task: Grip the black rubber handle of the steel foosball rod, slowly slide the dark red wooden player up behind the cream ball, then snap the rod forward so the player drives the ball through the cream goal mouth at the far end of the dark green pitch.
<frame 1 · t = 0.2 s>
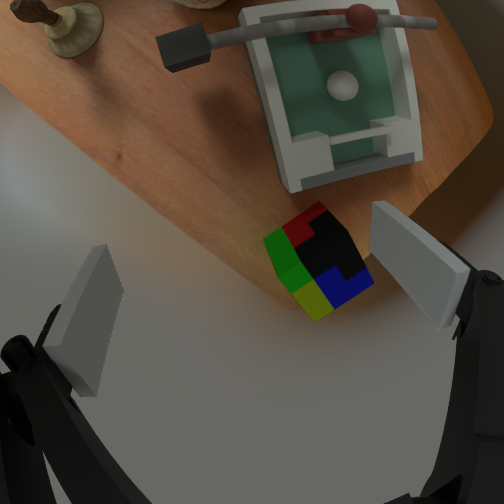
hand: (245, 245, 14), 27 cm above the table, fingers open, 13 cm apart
pitch: (331, 85, 35), on the table
puzzle toy: (306, 243, 47), on the table
striker: (312, 26, 25), point 8 cm above the table, slide at 0.0 cm
hand bell: (75, 29, 26), on the table
ball: (342, 85, 32), point 3 cm above the table, touching pitch
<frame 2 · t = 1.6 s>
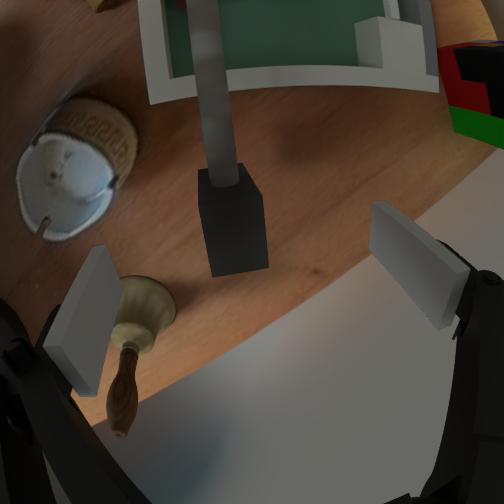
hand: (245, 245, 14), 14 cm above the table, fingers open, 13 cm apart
puzzle toy: (468, 82, 25), on the table
hand bell: (139, 305, 32), on the table
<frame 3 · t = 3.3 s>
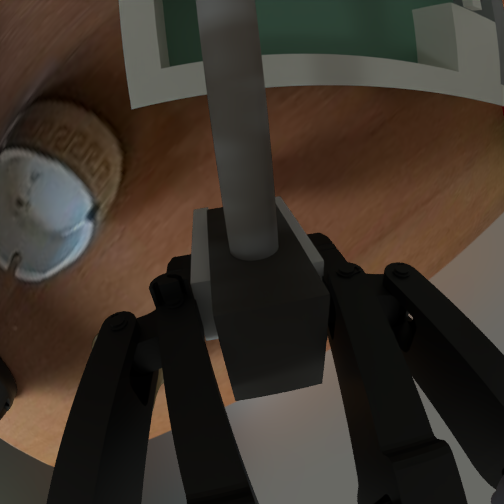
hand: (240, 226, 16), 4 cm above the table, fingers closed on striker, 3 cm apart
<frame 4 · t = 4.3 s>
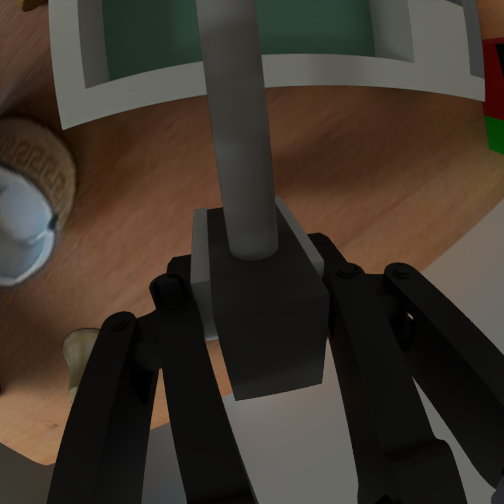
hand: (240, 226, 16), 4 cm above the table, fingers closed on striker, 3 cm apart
hand bell: (102, 357, 25), on the table
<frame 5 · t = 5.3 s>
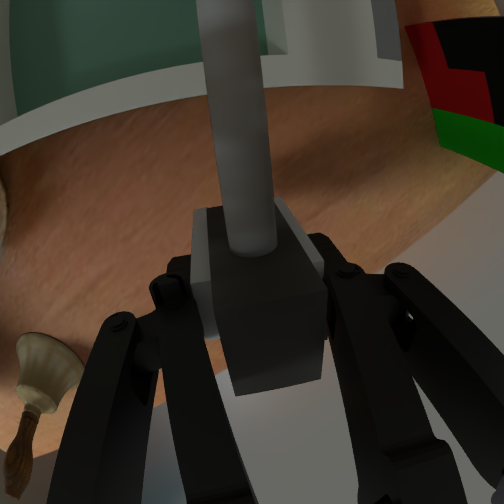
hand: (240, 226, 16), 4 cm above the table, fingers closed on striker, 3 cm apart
puzzle toy: (462, 74, 17), on the table
hand bell: (50, 359, 25), on the table
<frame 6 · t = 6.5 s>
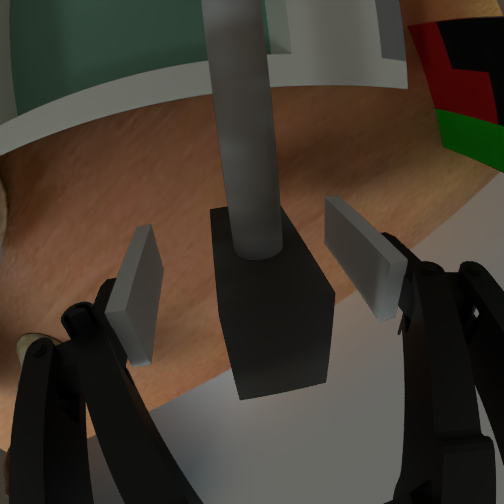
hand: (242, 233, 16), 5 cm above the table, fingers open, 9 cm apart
puzzle toy: (465, 75, 17), on the table
hand bell: (51, 360, 25), on the table
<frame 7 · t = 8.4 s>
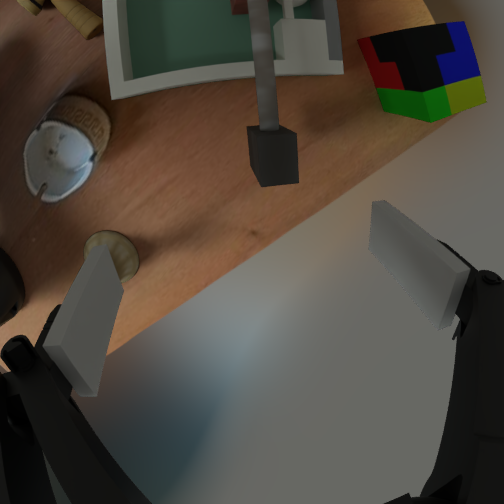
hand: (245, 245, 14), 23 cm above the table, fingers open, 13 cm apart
pitch: (218, 2, 25), on the table
puzzle toy: (400, 66, 31), on the table
striker: (254, 11, 20), point 8 cm above the table, slide at 10.1 cm
hand bell: (111, 256, 39), on the table
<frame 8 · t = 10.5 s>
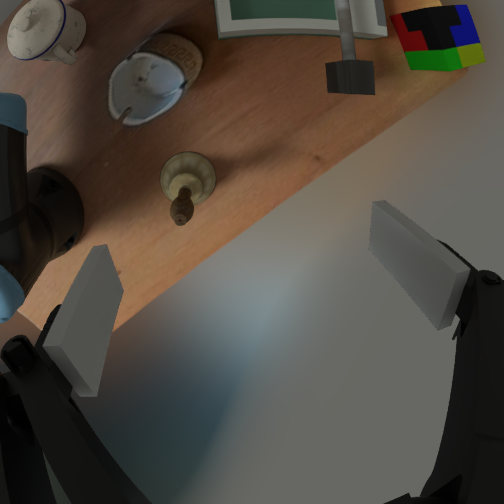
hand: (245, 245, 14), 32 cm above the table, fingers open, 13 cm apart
puzzle toy: (420, 38, 36), on the table
teacup with lid: (66, 40, 30), on the table
hand bell: (187, 178, 44), on the table
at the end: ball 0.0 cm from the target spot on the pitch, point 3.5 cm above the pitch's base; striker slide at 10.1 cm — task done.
